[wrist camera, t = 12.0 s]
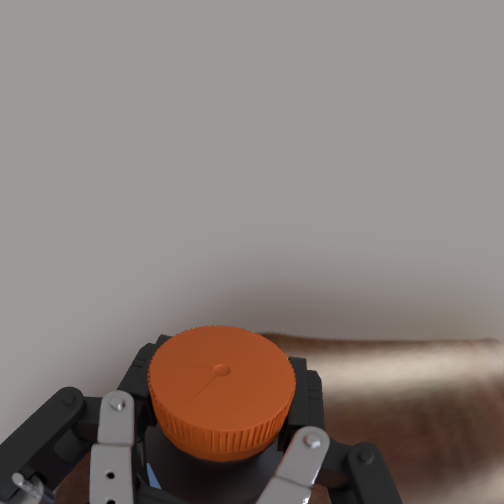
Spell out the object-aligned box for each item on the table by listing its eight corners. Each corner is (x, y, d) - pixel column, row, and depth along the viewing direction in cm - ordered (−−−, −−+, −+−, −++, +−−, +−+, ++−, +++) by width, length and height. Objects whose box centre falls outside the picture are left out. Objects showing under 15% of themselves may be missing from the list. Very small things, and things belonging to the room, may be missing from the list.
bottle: (191, 550, 13) (136, 483, 5) (167, 487, 19) (113, 320, 11) (268, 529, 16) (364, 414, 8) (238, 472, 22) (270, 299, 13)
